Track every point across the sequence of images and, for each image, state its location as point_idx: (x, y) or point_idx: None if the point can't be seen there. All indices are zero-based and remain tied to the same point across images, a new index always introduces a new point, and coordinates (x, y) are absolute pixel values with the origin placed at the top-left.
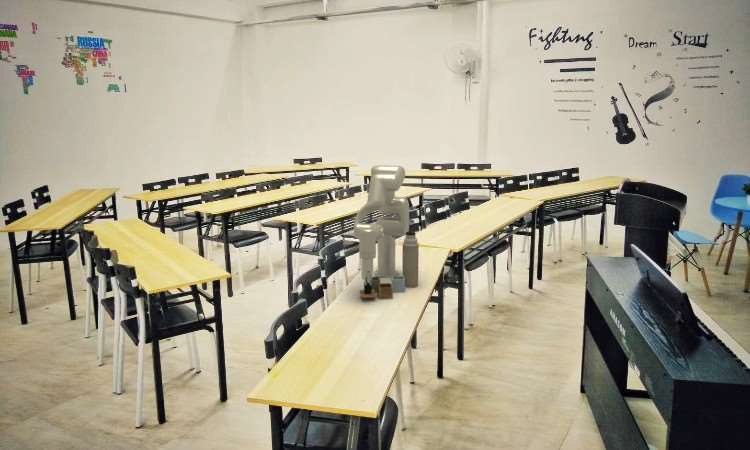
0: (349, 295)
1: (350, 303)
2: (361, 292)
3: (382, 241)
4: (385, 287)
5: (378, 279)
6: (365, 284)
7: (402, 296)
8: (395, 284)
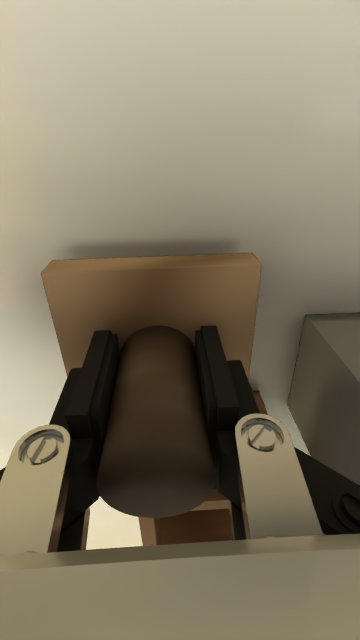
0: (334, 89)
1: (26, 99)
2: (157, 284)
3: None
4: (156, 543)
5: None
6: (13, 458)
7: None
8: None
